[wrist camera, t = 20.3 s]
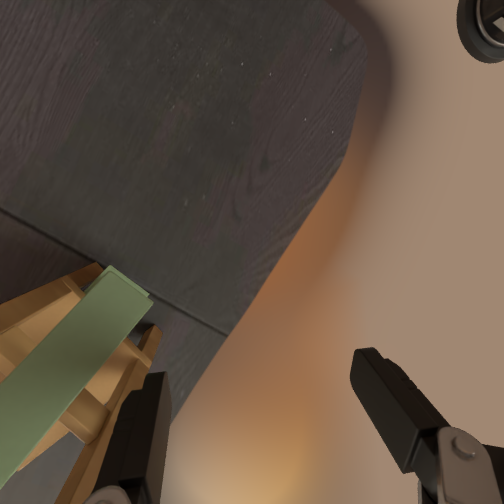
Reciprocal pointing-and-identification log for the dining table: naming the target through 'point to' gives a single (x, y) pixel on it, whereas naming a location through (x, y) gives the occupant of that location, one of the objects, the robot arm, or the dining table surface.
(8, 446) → the hook
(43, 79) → the dining table surface
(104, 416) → the chair
